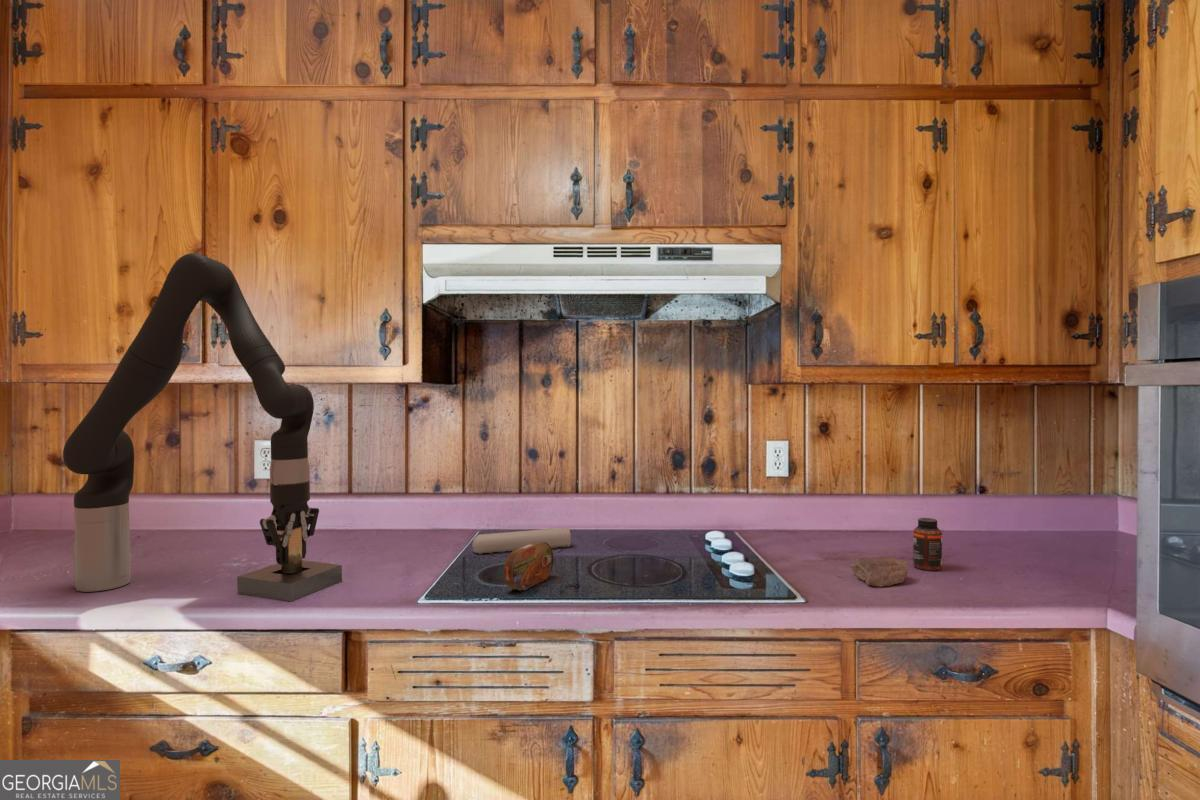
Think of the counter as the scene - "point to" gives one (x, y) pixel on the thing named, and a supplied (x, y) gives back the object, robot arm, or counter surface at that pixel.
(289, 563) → the pipe stub
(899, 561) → the rock
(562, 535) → the tube
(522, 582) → the tin
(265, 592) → the block
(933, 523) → the supplement bottle
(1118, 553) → the counter surface
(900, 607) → the counter surface
